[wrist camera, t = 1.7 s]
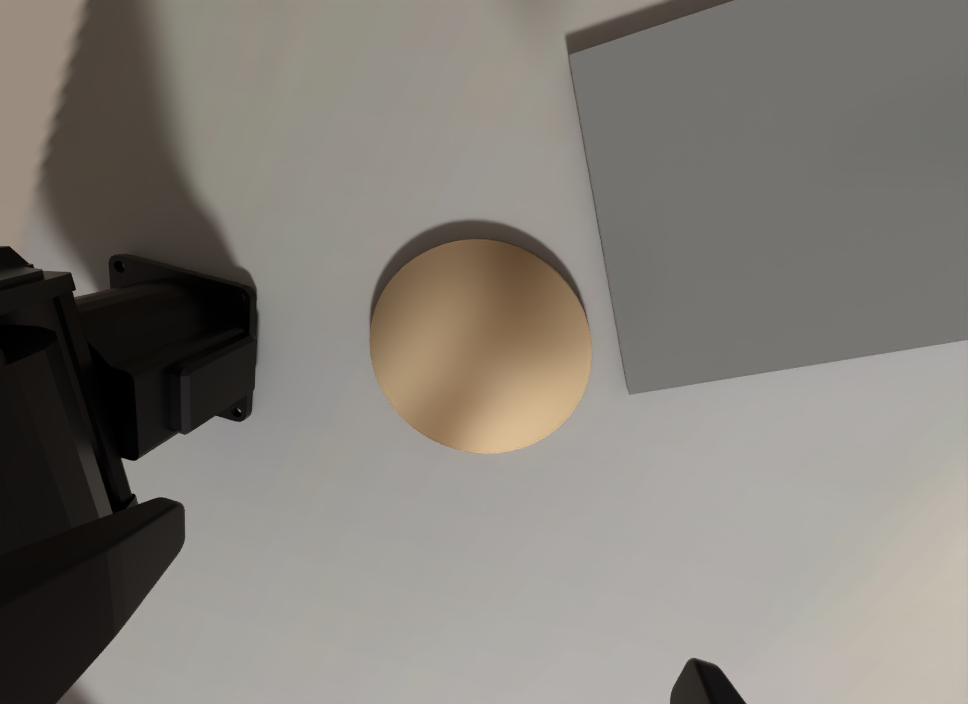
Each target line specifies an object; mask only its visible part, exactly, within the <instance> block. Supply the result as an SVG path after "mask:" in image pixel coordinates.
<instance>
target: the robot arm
mask: <svg viewBox="0 0 968 704" xmlns="http://www.w3.org/2000/svg"><path fill="white" fill-rule="evenodd" d="M122 263H123V264H124V266H125V269H124V267H123V265H122ZM109 273H110V286H111V289H109V290H105V291H100V292H96V293H91V294H87V295H83V296H78V297H74V295H73V292H72V291H74V290H76V288H75V285H74V281H73V278H72V274H71V272H54V271H42V269H36V268H34V266H33V264H29V263H28V262H26V261H25V260H24V259H23V258H22V257H21V256H20V255H19V254H17V253H16V252H15V251H14V250H13V249H12V248H11V247H9V246H0V704H56V703H57V702H58V701H59V699H60V698H61V697H62V696H63V695H64V694H65V693H66V692H67V691H68V689H69V688H70V687H71V686H72V685H73V684H74V683H75V682H76V680H77V679H78V678H79V677H80V676H81V675H82V674H83V673H84V672H85V670H86V669H87V668H88V667H89V666H90V665H91V664H92V663H93V661H94V660H95V659H96V658H97V657H98V656H99V655H100V654H101V653H102V651H103V650H104V649H105V648H106V647H107V646H108V644H109V643H110V642H111V641H112V640H113V639H114V637H115V636H116V635H117V634H118V633H119V631H120V630H121V629H122V628H123V626H124V625H125V624H126V622H127V621H128V620H129V619H130V617H131V616H132V615H133V613H134V612H135V611H136V609H137V608H138V607H139V605H140V604H141V603H142V601H143V600H144V599H145V597H146V596H147V595H148V593H149V592H150V591H151V589H152V588H153V587H154V585H155V584H156V583H157V581H158V580H159V579H160V577H161V576H162V575H163V573H164V572H165V571H166V569H167V568H168V567H169V565H170V564H171V563H172V561H173V560H174V559H175V558H176V556H177V555H178V553H179V552H180V550H181V549H182V547H183V544H184V541H185V509H184V506H183V504H182V503H180V502H177V501H174V500H170V499H167V498H163V497H159V498H155V499H152V500H149V501H146V502H143V503H141V504H138V502H137V498H136V495H135V494H132V493H131V490H130V486H129V483H128V479H127V476H126V473H125V469H124V466H123V462H122V459H121V458H125V459H128V460H132V461H136V460H137V459H139V458H140V457H142V456H143V455H145V454H147V453H148V452H150V451H151V450H153V449H154V448H156V447H157V446H159V445H161V444H162V443H164V442H165V441H167V440H168V439H170V438H171V437H173V436H175V435H176V434H178V433H181V434H184V435H185V434H188V433H190V432H191V431H193V430H194V429H196V428H197V427H199V426H200V425H202V424H203V423H205V422H206V421H208V420H209V419H211V418H212V417H214V416H219V417H222V418H226V419H229V420H233V421H237V422H241V421H244V420H245V419H246V418H248V417H249V416H250V415H251V412H252V393H253V390H254V388H255V367H256V343H257V342H256V339H255V319H256V294H255V293H254V291H253V290H252V289H251V288H250V287H249V286H247V285H243V284H240V283H236V282H232V281H228V280H224V279H221V278H217V277H213V276H209V275H205V274H201V273H198V272H194V271H190V270H186V269H182V268H179V267H175V266H171V265H167V264H163V263H159V262H156V261H152V260H148V259H144V258H140V257H137V256H133V255H129V254H118V255H114V256H112V257H111V258H110V260H109ZM240 293H241V294H243V296H244V297H245V302H244V301H242V299H241V298H240ZM237 408H239V409H240V410H241V412H239V411H238V410H237ZM670 704H746V702H745V701H744V700H743V698H742V697H741V696H740V694H739V693H738V692H737V690H736V689H735V688H734V686H733V685H732V684H731V682H730V681H729V679H728V678H727V677H726V675H725V674H724V673H723V671H722V670H721V669H720V668H719V667H718V666H717V665H715V664H713V663H710V662H706V661H703V660H700V659H697V658H691V659H690V660H688V662H687V663H686V665H685V666H684V668H683V670H682V672H681V674H680V676H679V677H678V679H677V681H676V683H675V685H674V686H673V689H672V692H671V697H670Z"/></svg>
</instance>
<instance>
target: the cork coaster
mask: <svg viewBox="0 0 968 704" xmlns="http://www.w3.org/2000/svg"><path fill="white" fill-rule="evenodd" d="M370 354H371V359H372V364H373V369H374V372H375V375H376V378H377V380H378V383H379V385H380V387H381V389H382V391H383V393H384V395H385V396H386V398H387V399H388V401H389V402H390V404H391V405H392V406H393V408H394V409H395V410H396V411H397V413H398V414H399V415H400V416H401V417H402V418H403V419H404V420H405V421H406V422H407V423H408V424H409V425H411V426H412V427H413V428H415V429H416V430H417V431H418V432H420V433H422V434H423V435H425V436H426V437H428V438H430V439H432V440H434V441H436V442H438V443H440V444H442V445H445V446H448V447H451V448H454V449H457V450H462V451H466V452H474V453H501V452H508V451H512V450H516V449H520V448H523V447H526V446H528V445H531V444H533V443H536V442H537V441H539V440H541V439H543V438H545V437H546V436H548V435H549V434H550V433H552V432H553V431H555V430H556V429H557V428H558V427H559V426H560V425H561V424H562V423H563V422H564V421H566V420H567V418H568V417H569V416H570V415H571V413H572V412H573V411H574V409H575V408H576V406H577V405H578V403H579V401H580V399H581V398H582V396H583V393H584V391H585V388H586V386H587V383H588V379H589V375H590V371H591V362H592V342H591V336H590V331H589V326H588V322H587V319H586V316H585V312H584V309H583V307H582V305H581V303H580V301H579V299H578V297H577V295H576V294H575V292H574V291H573V289H572V288H571V286H570V285H569V283H568V282H567V281H566V280H565V279H564V278H563V277H562V276H561V274H560V273H559V272H558V271H557V270H555V269H554V268H553V267H552V266H551V265H550V264H548V263H547V262H546V261H544V260H543V259H541V258H540V257H538V256H537V255H535V254H534V253H531V252H529V251H527V250H525V249H523V248H521V247H518V246H515V245H512V244H509V243H506V242H501V241H496V240H490V239H467V240H458V241H454V242H450V243H445V244H442V245H440V246H437V247H435V248H432V249H430V250H428V251H426V252H424V253H422V254H421V255H419V256H417V257H415V258H414V259H412V260H411V261H410V262H408V263H407V264H406V265H405V266H403V267H402V268H401V269H400V270H399V271H398V272H397V273H396V274H395V275H394V276H393V277H392V279H391V280H390V282H389V283H388V284H387V286H386V287H385V289H384V290H383V292H382V294H381V296H380V298H379V300H378V302H377V305H376V308H375V311H374V313H373V318H372V323H371V328H370Z"/></svg>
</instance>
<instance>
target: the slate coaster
mask: <svg viewBox="0 0 968 704" xmlns="http://www.w3.org/2000/svg"><path fill="white" fill-rule="evenodd" d="M569 62H570V68H571V74H572V79H573V85H574V90H575V96H576V102H577V107H578V113H579V119H580V124H581V130H582V136H583V141H584V147H585V152H586V158H587V164H588V169H589V175H590V181H591V186H592V192H593V198H594V203H595V209H596V215H597V220H598V226H599V231H600V237H601V243H602V248H603V254H604V260H605V265H606V271H607V277H608V282H609V288H610V293H611V299H612V305H613V310H614V316H615V322H616V327H617V333H618V339H619V344H620V350H621V355H622V361H623V367H624V372H625V378H626V384H627V389H628V392H629V395H631V394H637V393H643V392H649V391H655V390H661V389H667V388H674V387H680V386H686V385H692V384H698V383H704V382H711V381H717V380H723V379H729V378H735V377H741V376H748V375H754V374H760V373H766V372H772V371H778V370H784V369H791V368H797V367H803V366H809V365H815V364H821V363H828V362H834V361H840V360H846V359H852V358H858V357H865V356H871V355H877V354H883V353H889V352H895V351H901V350H908V349H914V348H920V347H926V346H932V345H938V344H945V343H951V342H957V341H963V340H968V0H733V1H730V2H727V3H724V4H721V5H718V6H715V7H712V8H709V9H706V10H703V11H700V12H697V13H694V14H691V15H688V16H685V17H682V18H679V19H676V20H673V21H670V22H667V23H664V24H661V25H658V26H655V27H652V28H649V29H646V30H643V31H640V32H637V33H634V34H630V35H627V36H624V37H621V38H618V39H615V40H612V41H609V42H606V43H603V44H600V45H597V46H594V47H591V48H588V49H585V50H582V51H579V52H576V53H573V54H570V55H569Z"/></svg>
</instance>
